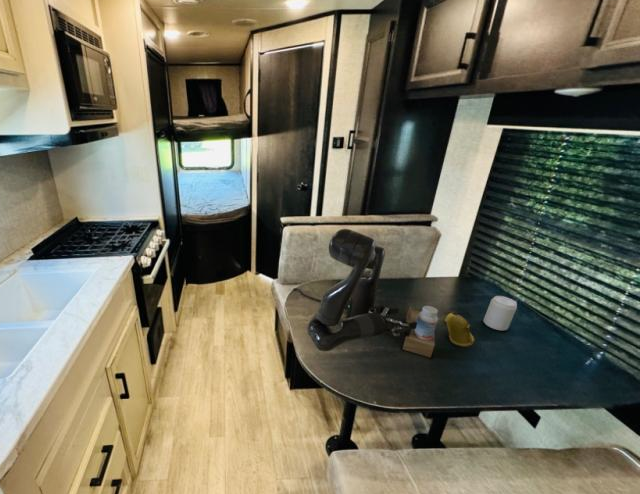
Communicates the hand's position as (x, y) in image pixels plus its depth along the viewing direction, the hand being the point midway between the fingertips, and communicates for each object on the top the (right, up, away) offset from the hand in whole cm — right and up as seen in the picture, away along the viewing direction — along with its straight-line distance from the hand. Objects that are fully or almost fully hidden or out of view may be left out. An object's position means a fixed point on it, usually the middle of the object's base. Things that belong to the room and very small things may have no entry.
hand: (406, 316), depth 108 cm
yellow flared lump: (+24, -12, +11) cm, 30 cm away
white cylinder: (+47, -8, +20) cm, 52 cm away
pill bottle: (+9, -8, +6) cm, 14 cm away
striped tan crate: (+12, -11, +14) cm, 21 cm away
